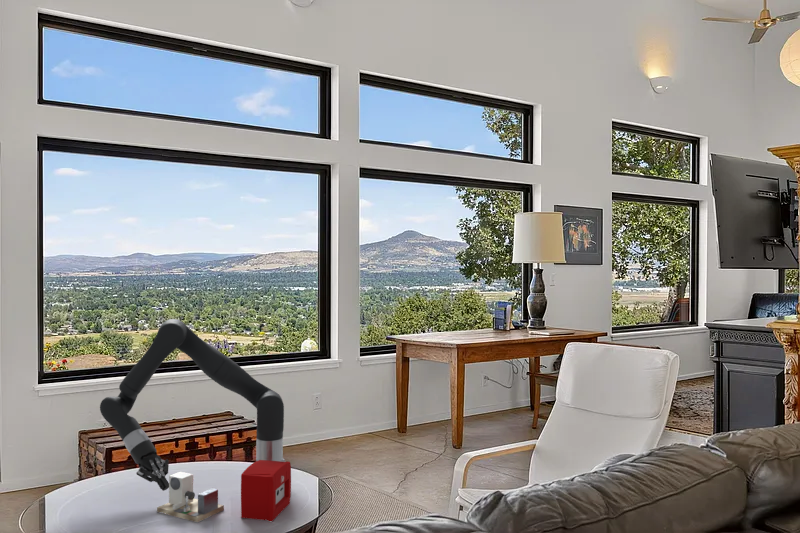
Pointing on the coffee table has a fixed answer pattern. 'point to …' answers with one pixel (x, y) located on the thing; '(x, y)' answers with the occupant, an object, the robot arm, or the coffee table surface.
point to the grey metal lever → (186, 508)
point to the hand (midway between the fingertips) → (166, 488)
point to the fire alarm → (265, 489)
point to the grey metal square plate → (208, 501)
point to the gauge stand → (189, 515)
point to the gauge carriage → (180, 489)
